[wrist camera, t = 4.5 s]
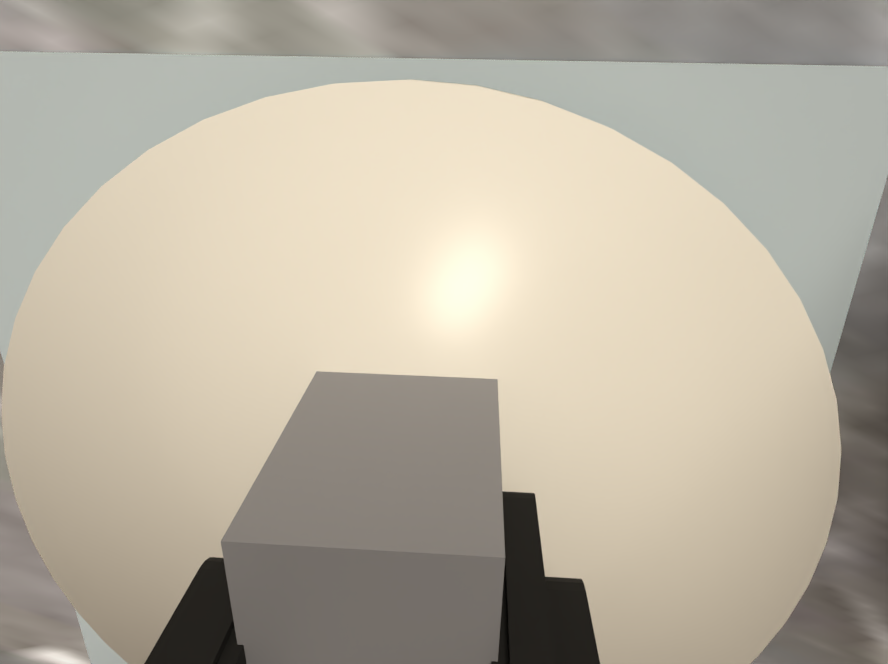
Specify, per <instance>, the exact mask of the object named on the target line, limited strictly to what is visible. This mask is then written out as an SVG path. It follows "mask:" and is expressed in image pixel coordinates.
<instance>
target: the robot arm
mask: <svg viewBox="0 0 888 664" xmlns="http://www.w3.org/2000/svg"><path fill="white" fill-rule="evenodd" d="M502 494H503V517H504V540H505V568H504V582H503V596H502V610H501V623H500V637H499V651H498V662H496V661H491V664H600V660H599V655H598V650H597V645H596V640H595V635H594V630H593V625H592V620H591V614H590V609H589V604H588V599H587V594H586V590H585V586H584V582H583V581H582V579H577V578H560V577H545V572H544V564H543V556H542V547H541V539H540V531H539V522H538V514H537V506H536V498H535V494H534V493H525V492H506V491H502ZM144 664H247V663H246V657H245V651H244V645H237V639H236V633H235V627H234V621H233V615H232V608H231V602H230V596H229V590H228V584H227V578H226V571H225V565H224V559H223V558H217V557H209V558H208V559H207V560H205V561H204V562H203V564H202V565H201V567H200V568H199V570H198V571H197V573H196V575H195V577H194V578H193V580H192V582H191V583H190V585H189V587H188V589H187V590H186V592H185V594H184V596H183V597H182V599H181V601H180V603H179V604H178V606H177V608H176V609H175V611H174V613H173V615H172V616H171V618H170V620H169V622H168V623H167V625H166V627H165V629H164V630H163V632H162V634H161V636H160V637H159V639H158V641H157V642H156V644H155V646H154V648H153V649H152V651H151V653H150V655H149V656H148V658H147V660H146V662H145V663H144Z"/></svg>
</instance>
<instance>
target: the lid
mask: <svg viewBox="0 0 888 664" xmlns="http://www.w3.org/2000/svg"><path fill="white" fill-rule="evenodd" d="M1 415H2V427H3V438H4V449H5V457H6V462H7V466H8V470H9V474H10V478H11V482H12V486H13V490H14V495H15V499H16V501H17V504H18V506H19V509H20V511H21V514H22V517H23V519H24V522H25V524H26V527H27V529H28V532H29V534H30V537H31V539H32V541H33V543H34V545H35V547H36V548H37V550H38V552H39V554H40V556H41V557H42V559H43V561H44V563H45V565H46V567H47V568H48V570H49V572H50V574H51V576H52V577H53V579H54V580H55V582H56V583H57V584H58V586H59V587H60V588H61V590H62V591H63V593H64V594H65V595H66V597H67V598H68V600H69V601H70V602H71V604H72V605H73V607H74V608H75V609H76V611H77V612H78V613H79V614H80V615H81V617H82V618H83V619H84V620H85V621H86V622H87V623H88V624H89V625H90V627H91V628H92V629H93V630H94V631H95V632H96V633H97V634H98V635H99V636H100V638H101V639H102V640H103V641H104V642H105V643H106V644H107V645H108V646H109V647H110V648H111V649H112V650H114V651H115V652H116V653H117V654H118V655H119V656H120V657H121V658H122V659H124V660H125V661H126V662H127V663H128V664H144V663H145V662H146V660H147V658H148V656H149V655H150V653H151V651H152V649H153V648H154V646H155V644H156V642H157V641H158V639H159V637H160V636H161V634H162V632H163V630H164V629H165V627H166V625H167V623H168V622H169V620H170V618H171V616H172V615H173V613H174V611H175V609H176V608H177V606H178V604H179V603H180V601H181V599H182V597H183V596H184V594H185V592H186V590H187V589H188V587H189V585H190V583H191V582H192V580H193V578H194V577H195V575H196V573H197V571H198V570H199V568H200V567H201V565H202V564H203V562H204V561H205V560H207V559H208V558H209V557H217V558H223V559H224V565H225V571H226V578H227V584H228V590H229V596H230V602H231V608H232V615H233V621H234V627H235V633H236V639H237V645H244V651H245V657H246V663H247V664H491V661H496V662H498V651H499V637H500V623H501V610H502V596H503V582H504V568H505V540H504V517H503V494H502V491H506V492H525V493H534V494H535V498H536V506H537V514H538V522H539V531H540V539H541V547H542V556H543V564H544V572H545V577H560V578H577V579H582V581H583V582H584V586H585V590H586V594H587V599H588V604H589V609H590V614H591V620H592V625H593V630H594V635H595V640H596V645H597V650H598V655H599V660H600V664H750V663H751V662H752V661H753V660H755V659H756V658H757V657H758V656H759V655H760V653H761V652H762V651H763V650H764V648H765V647H766V646H767V645H768V644H769V642H770V641H771V640H772V639H773V637H774V636H775V635H776V634H777V633H778V631H779V630H780V629H781V628H782V627H783V625H784V624H785V623H786V621H787V620H788V618H789V617H790V615H791V613H792V612H793V610H794V608H795V607H796V605H797V603H798V602H799V600H800V599H801V597H802V595H803V594H804V592H805V590H806V589H807V587H808V586H809V583H810V581H811V579H812V576H813V574H814V572H815V569H816V567H817V565H818V562H819V560H820V558H821V555H822V553H823V550H824V548H825V546H826V543H827V539H828V535H829V531H830V527H831V523H832V519H833V515H834V511H835V507H836V503H837V499H838V488H839V475H840V462H841V441H840V429H839V418H838V407H837V399H836V395H835V392H834V388H833V384H832V380H831V377H830V373H829V369H828V365H827V362H826V358H825V354H824V350H823V348H822V346H821V343H820V341H819V339H818V337H817V335H816V333H815V330H814V328H813V326H812V324H811V322H810V319H809V317H808V315H807V313H806V311H805V308H804V306H803V304H802V302H801V300H800V298H799V296H798V295H797V293H796V292H795V290H794V289H793V288H792V286H791V285H790V283H789V282H788V280H787V279H786V277H785V276H784V274H783V273H782V271H781V270H780V268H779V267H778V265H777V264H776V262H775V261H774V259H773V258H772V256H771V255H770V253H769V252H768V250H767V249H766V248H765V247H764V246H763V245H762V244H761V243H760V242H759V241H758V239H757V238H756V237H755V236H754V235H753V234H752V233H751V232H750V231H749V230H748V229H747V228H746V227H745V226H744V224H743V223H742V222H741V221H740V220H739V219H738V218H737V217H736V216H735V215H734V214H733V213H732V212H731V211H730V210H729V208H728V207H727V206H726V205H725V204H724V203H723V202H721V201H720V200H719V199H717V198H716V197H715V196H714V195H712V194H711V193H710V192H709V191H707V190H706V189H705V188H703V187H702V186H701V185H700V184H698V183H697V182H696V181H695V180H693V179H692V178H691V177H689V176H688V175H687V174H686V173H684V172H683V171H682V170H681V169H679V168H678V167H677V166H675V165H674V164H673V163H671V162H670V161H668V160H666V159H664V158H663V157H661V156H659V155H657V154H656V153H654V152H652V151H650V150H649V149H647V148H645V147H643V146H642V145H640V144H638V143H636V142H634V141H633V140H631V139H629V138H627V137H626V136H624V135H622V134H620V133H619V132H617V131H615V130H613V129H611V128H609V127H607V126H605V125H602V124H600V123H597V122H595V121H592V120H590V119H587V118H585V117H582V116H579V115H577V114H574V113H572V112H569V111H567V110H564V109H562V108H559V107H556V106H554V105H551V104H549V103H546V102H544V101H541V100H538V99H534V98H529V97H525V96H521V95H516V94H512V93H508V92H504V91H499V90H495V89H491V88H487V87H482V86H478V85H470V84H459V83H448V82H436V81H425V80H414V79H408V80H389V81H370V82H351V83H335V84H329V85H324V86H319V87H314V88H309V89H304V90H299V91H294V92H289V93H284V94H279V95H274V96H269V97H264V98H262V99H259V100H256V101H253V102H251V103H248V104H245V105H242V106H240V107H237V108H234V109H231V110H228V111H226V112H223V113H220V114H217V115H215V116H212V117H209V118H206V119H204V120H202V121H200V122H198V123H196V124H194V125H192V126H191V127H189V128H187V129H185V130H183V131H182V132H180V133H178V134H176V135H174V136H172V137H171V138H169V139H167V140H165V141H163V142H162V143H160V144H158V145H156V146H154V147H152V148H151V149H149V150H147V151H146V152H145V153H143V154H142V155H141V156H140V157H138V158H137V159H136V160H134V161H133V162H132V163H131V164H129V165H128V166H127V167H125V168H124V169H123V170H122V171H120V172H119V173H118V174H116V175H115V176H114V177H113V178H111V179H110V180H109V181H108V182H106V183H105V184H104V185H102V186H101V187H100V188H99V189H98V190H97V192H96V193H95V194H94V195H93V196H92V197H91V198H90V199H89V200H88V201H87V202H86V204H85V205H84V206H83V207H82V208H81V209H80V210H79V211H78V212H77V213H76V214H75V216H74V217H73V218H72V219H71V220H70V221H69V222H68V223H67V224H66V225H65V226H64V228H63V229H62V231H61V232H60V234H59V235H58V237H57V238H56V240H55V241H54V243H53V245H52V246H51V248H50V249H49V251H48V252H47V254H46V255H45V257H44V259H43V260H42V262H41V263H40V265H39V266H38V268H37V269H36V271H35V273H34V275H33V278H32V280H31V282H30V285H29V287H28V289H27V292H26V294H25V296H24V299H23V301H22V303H21V306H20V308H19V310H18V313H17V315H16V318H15V321H14V326H13V330H12V334H11V338H10V343H9V347H8V351H7V355H6V359H5V364H4V376H3V390H2V405H1Z"/></svg>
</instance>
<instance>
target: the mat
mask: <svg viewBox="0 0 888 664" xmlns="http://www.w3.org/2000/svg"><path fill="white" fill-rule="evenodd" d="M408 79H414V80H425V81H436V82H448V83H459V84H470V85H478V86H482V87H487V88H491V89H495V90H499V91H504V92H508V93H512V94H516V95H521V96H525V97H529V98H534V99H538V100H541V101H544V102H546V103H549V104H551V105H554V106H556V107H559V108H562V109H564V110H567V111H569V112H572V113H574V114H577V115H579V116H582V117H585V118H587V119H590V120H592V121H595V122H597V123H600V124H602V125H605V126H607V127H609V128H611V129H613V130H615V131H617V132H619V133H620V134H622V135H624V136H626V137H627V138H629V139H631V140H633V141H634V142H636V143H638V144H640V145H642V146H643V147H645V148H647V149H649V150H650V151H652V152H654V153H656V154H657V155H659V156H661V157H663V158H664V159H666V160H668V161H670V162H671V163H673V164H674V165H675V166H677V167H678V168H679V169H681V170H682V171H683V172H684V173H686V174H687V175H688V176H689V177H691V178H692V179H693V180H695V181H696V182H697V183H698V184H700V185H701V186H702V187H703V188H705V189H706V190H707V191H709V192H710V193H711V194H712V195H714V196H715V197H716V198H717V199H719V200H720V201H721V202H723V203H724V204H725V205H726V206H727V207H728V208H729V210H730V211H731V212H732V213H733V214H734V215H735V216H736V217H737V218H738V219H739V220H740V221H741V222H742V223H743V224H744V226H745V227H746V228H747V229H748V230H749V231H750V232H751V233H752V234H753V235H754V236H755V237H756V238H757V239H758V241H759V242H760V243H761V244H762V245H763V246H764V247H765V248H766V249H767V250H768V252H769V253H770V255H771V256H772V258H773V259H774V261H775V262H776V264H777V265H778V267H779V268H780V270H781V271H782V273H783V274H784V276H785V277H786V279H787V280H788V282H789V283H790V285H791V286H792V288H793V289H794V290H795V292H796V293H797V295H798V296H799V298H800V300H801V302H802V304H803V306H804V308H805V311H806V313H807V315H808V317H809V319H810V322H811V324H812V326H813V328H814V330H815V333H816V335H817V337H818V339H819V341H820V343H821V346H822V348H823V350H824V354H825V358H826V362H827V365H828V369H829V373H830V372H831V368H832V365H833V361H834V358H835V355H836V351H837V348H838V344H839V341H840V337H841V334H842V331H843V327H844V324H845V320H846V317H847V313H848V310H849V306H850V303H851V300H852V296H853V293H854V289H855V286H856V282H857V279H858V276H859V272H860V269H861V265H862V262H863V258H864V255H865V252H866V248H867V245H868V241H869V238H870V234H871V231H872V227H873V224H874V221H875V217H876V214H877V210H878V207H879V203H880V200H881V197H882V193H883V190H884V186H885V183H886V179H887V176H888V66H832V65H773V64H714V63H655V62H596V61H537V60H478V59H419V58H360V57H301V56H242V55H183V54H125V53H66V52H7V51H0V352H1V355H2V358H3V362H4V364H5V359H6V355H7V351H8V347H9V343H10V338H11V334H12V330H13V326H14V321H15V318H16V315H17V313H18V310H19V308H20V306H21V303H22V301H23V299H24V296H25V294H26V292H27V289H28V287H29V285H30V282H31V280H32V278H33V275H34V273H35V271H36V269H37V268H38V266H39V265H40V263H41V262H42V260H43V259H44V257H45V255H46V254H47V252H48V251H49V249H50V248H51V246H52V245H53V243H54V241H55V240H56V238H57V237H58V235H59V234H60V232H61V231H62V229H63V228H64V226H65V225H66V224H67V223H68V222H69V221H70V220H71V219H72V218H73V217H74V216H75V214H76V213H77V212H78V211H79V210H80V209H81V208H82V207H83V206H84V205H85V204H86V202H87V201H88V200H89V199H90V198H91V197H92V196H93V195H94V194H95V193H96V192H97V190H98V189H99V188H100V187H101V186H102V185H104V184H105V183H106V182H108V181H109V180H110V179H111V178H113V177H114V176H115V175H116V174H118V173H119V172H120V171H122V170H123V169H124V168H125V167H127V166H128V165H129V164H131V163H132V162H133V161H134V160H136V159H137V158H138V157H140V156H141V155H142V154H143V153H145V152H146V151H147V150H149V149H151V148H152V147H154V146H156V145H158V144H160V143H162V142H163V141H165V140H167V139H169V138H171V137H172V136H174V135H176V134H178V133H180V132H182V131H183V130H185V129H187V128H189V127H191V126H192V125H194V124H196V123H198V122H200V121H202V120H204V119H206V118H209V117H212V116H215V115H217V114H220V113H223V112H226V111H228V110H231V109H234V108H237V107H240V106H242V105H245V104H248V103H251V102H253V101H256V100H259V99H262V98H264V97H269V96H274V95H279V94H284V93H289V92H294V91H299V90H304V89H309V88H314V87H319V86H324V85H329V84H335V83H351V82H370V81H389V80H408ZM75 611H76V609H75ZM76 614H77V617H78V621H79V624H80V628H81V631H82V635H83V638H84V642H85V645H86V649H87V652H88V655H89V659H90V662H91V664H128V663H127V662H126V661H125V660H124V659H122V658H121V657H120V656H119V655H118V654H117V653H116V652H115V651H114V650H112V649H111V648H110V647H109V646H108V645H107V644H106V643H105V642H104V641H103V640H102V639H101V638H100V636H99V635H98V634H97V633H96V632H95V631H94V630H93V629H92V628H91V627H90V625H89V624H88V623H87V622H86V621H85V620H84V619H83V618H82V617H81V615H80V614H79V613H78V612H77V611H76Z"/></svg>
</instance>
